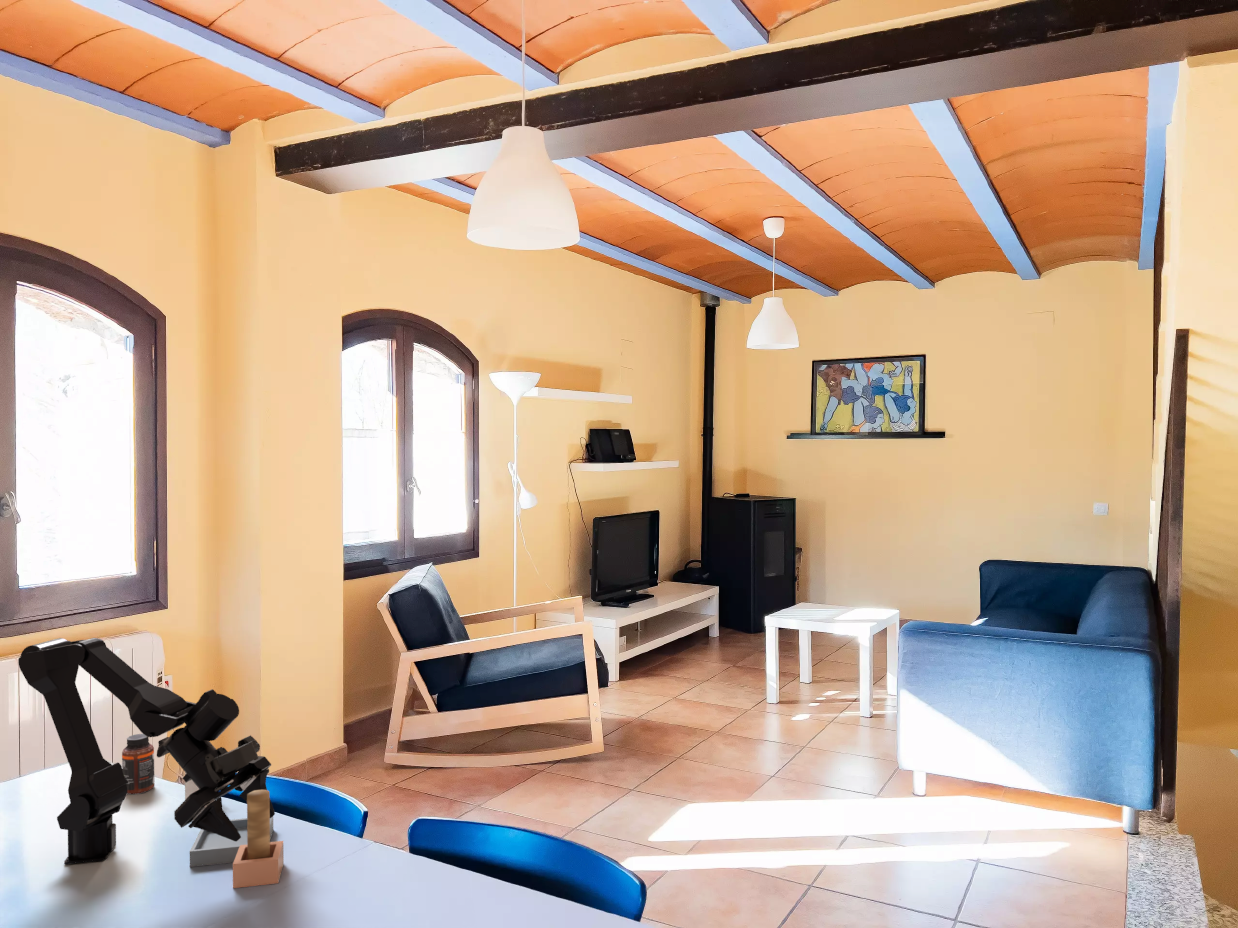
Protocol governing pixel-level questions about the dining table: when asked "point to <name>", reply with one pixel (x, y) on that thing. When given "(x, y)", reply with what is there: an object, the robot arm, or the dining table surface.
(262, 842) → the oak dowel
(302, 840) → the dining table surface
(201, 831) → the tray
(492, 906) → the dining table surface
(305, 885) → the dining table surface
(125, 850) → the dining table surface
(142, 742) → the supplement bottle
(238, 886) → the terracotta socket
